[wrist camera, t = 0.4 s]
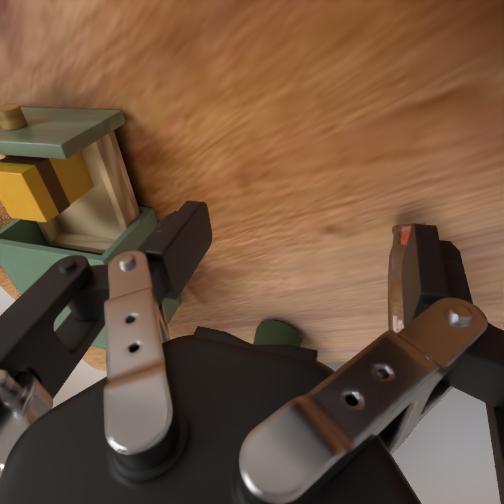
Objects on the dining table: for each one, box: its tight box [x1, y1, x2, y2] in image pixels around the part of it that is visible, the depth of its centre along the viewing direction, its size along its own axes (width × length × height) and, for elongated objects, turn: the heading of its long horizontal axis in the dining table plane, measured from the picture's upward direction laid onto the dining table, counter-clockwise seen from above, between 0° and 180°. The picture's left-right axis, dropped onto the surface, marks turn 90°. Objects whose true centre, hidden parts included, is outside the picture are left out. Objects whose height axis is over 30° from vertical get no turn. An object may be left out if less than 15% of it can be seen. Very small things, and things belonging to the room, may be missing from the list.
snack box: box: [0, 152, 94, 223], centre depth 33 cm, size 5×4×7 cm
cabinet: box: [0, 206, 181, 349], centre depth 43 cm, size 16×15×10 cm
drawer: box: [0, 104, 141, 254], centre depth 35 cm, size 17×15×8 cm
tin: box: [388, 223, 425, 333], centre depth 31 cm, size 15×3×8 cm, turn 15°
